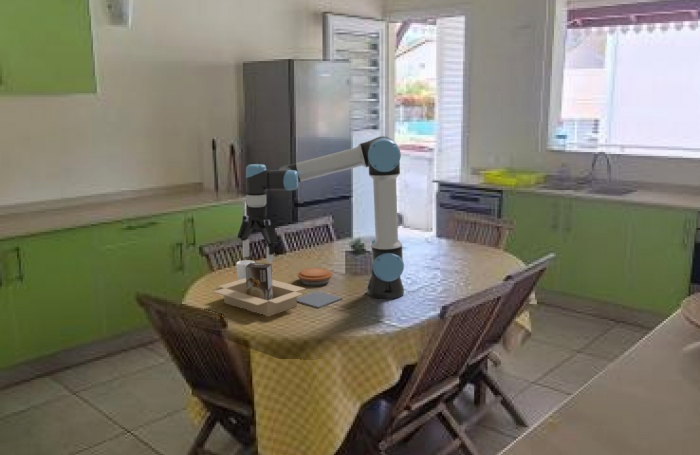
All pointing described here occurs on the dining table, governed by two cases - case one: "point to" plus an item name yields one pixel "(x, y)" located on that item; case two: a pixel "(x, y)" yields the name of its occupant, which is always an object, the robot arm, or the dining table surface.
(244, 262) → the white cup
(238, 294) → the carton
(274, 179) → the robot arm
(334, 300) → the mat
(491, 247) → the dining table surface
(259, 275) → the coffee box
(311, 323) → the dining table surface
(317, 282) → the pie
